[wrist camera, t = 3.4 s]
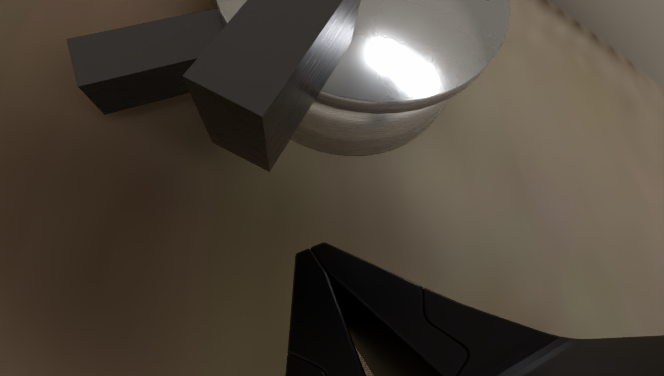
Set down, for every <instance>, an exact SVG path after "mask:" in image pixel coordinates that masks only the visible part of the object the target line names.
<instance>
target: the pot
mask: <svg viewBox="0 0 664 376" xmlns="http://www.w3.org/2000/svg"><path fill="white" fill-rule="evenodd" d="M224 27H225V26H224V24H223V21H222V19H221V16H220V13H219V11H218V8H216V9H211V10H206V11H201V12H197V13H192V14H187V15H182V16H177V17H172V18H167V19H163V20H158V21H153V22H148V23H143V24H138V25H134V26H129V27H124V28H119V29H114V30H109V31H104V32H100V33H95V34H90V35H85V36H80V37H75V38H70V39H67V43H68V47H69V51H70V55H71V59H72V64H73V68H74V72H75V76H76V80H77V84H78V87H79V88H80V89H81V90H82V91H83V92H84V93H85V94H86V95H87V96H88V98H89V99H90V100H91V101H92V102H93V103H94V104H95V105H96V106H97V107H98V108H99V109H100V110H101V111H102V112H103V113H104V114H105V115H106V114H110V113H113V112H117V111H121V110H125V109H129V108H132V107H136V106H140V105H144V104H148V103H151V102H155V101H159V100H163V99H167V98H171V97H174V96H178V95H182V94H186V93H190V91H189V89H188V87H187V85H186V83H185V80H184V78H183V75H184V73H185V72H186V71H187V70H188V69H189V68H190V66H191V65H192V64H193V63H194V62H195V61H196V59H197V58H198V57H199V56H200V55H201V54H202V52H203V51H204V50H205V49H206V48H207V47H208V45H209V44H210V43H211V42H212V41H213V40H214V38H215V37H216V36H217V35H218V34H219V33H220V31H221V30H222V29H223V28H224ZM449 100H450V98H449V99H447V100H444V101H442V102H440V103H438V104H436V105H432V106H429V107H426V108H423V109H419V110H414V111H408V112H402V113H388V114H372V113H359V112H352V111H347V110H342V109H337V108H333V107H330V106H326V105H323V104H320V103H317V102H313V104H312V105H311V107H310V109H309V110H308V112H307V113H306V115H305V117H304V118H303V120H302V121H301V123H300V124H299V126H298V128H297V129H296V131H295V132H294V134H293V136H292V137H291V139H292V140H294V141H296V142H298V143H300V144H302V145H304V146H306V147H309V148H312V149H315V150H318V151H321V152H326V153H330V154H336V155H346V156H365V155H372V154H379V153H383V152H386V151H390V150H393V149H395V148H398V147H400V146H402V145H404V144H406V143H408V142H409V141H411V140H413V139H414V138H416V137H417V136H418V135H419V134H421V133H422V132H423V131H424V130H425V129H426V128H427V127H428V126H429V125H430V124H431V122H432V121H433V120H434V119H435V118H436V116H437V115H438V114H439V112H440V111H441V110H442V109H443V107H444V106H445V105H446V104H447V102H448V101H449Z"/></svg>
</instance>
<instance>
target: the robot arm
mask: <svg viewBox="0 0 664 376" xmlns="http://www.w3.org/2000/svg"><path fill="white" fill-rule="evenodd" d="M354 345H355V346H354ZM355 347H356V348H357V350H358V351H359V353H360V354H361V356H362V358H363V359H364V361H365V362H366V364H367V365H368V367H369V369H370V370H371V372H372V373H373V375H374V376H664V336H644V337H622V338H601V339H572V338H566V337H560V336H556V335H551V334H548V333H545V332H541V331H538V330H535V329H532V328H530V327H527V326H524V325H521V324H518V323H515V322H512V321H509V320H506V319H503V318H500V317H497V316H495V315H492V314H489V313H486V312H483V311H480V310H477V309H475V308H472V307H469V306H467V305H464V304H461V303H458V302H456V301H454V300H451V299H449V298H447V297H444V296H442V295H440V294H437V293H435V292H433V291H431V290H428V289H426V288H424V289H423V287H422V286H419V285H417V284H415V283H413V282H411V281H408V280H406V279H404V278H402V277H400V276H398V275H395V274H393V273H391V272H389V271H387V270H384V269H382V268H380V267H378V266H376V265H373V264H371V263H369V262H367V261H365V260H363V259H360V258H358V257H356V256H354V255H352V254H349V253H347V252H345V251H343V250H341V249H338V248H336V247H334V246H332V245H330V244H327V243H325V242H323V243H320V244H318V245H315V246H313V247H312V248H311V250H310V249H306V250H303V251H301V252H298V253H297V254H296V256H295V268H294V280H293V293H292V305H291V318H290V330H289V342H288V356H287V365H286V375H285V376H366V375H365V372H364V369H363V367H362V364H361V362H360V359H359V356H358V354H357V351H356V348H355Z"/></svg>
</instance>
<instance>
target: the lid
mask: <svg viewBox="0 0 664 376" xmlns="http://www.w3.org/2000/svg"><path fill="white" fill-rule="evenodd" d="M216 3H217V7H218V11H219V13H220V16H221V19H222V21H223V24H224V26H225V27H224V28H223V29H222V30H221V31H220V33H219V34H218V35H217V36H216V37H215V38H214V40H213V41H212V42H211V43H210V44H209V45H208V47H207V48H206V49H205V50H204V51H203V52H202V54H201V55H200V56H199V57H198V58H197V59H196V61H195V62H194V63H193V64H192V65H191V66H190V68H189V69H188V70H187V71H186V72H185V73H184V75H183V78H184V80H185V83H186V85H187V87H188V89H189V91H190V94H191V96H192V98H193V100H194V102H195V105H196V107H197V109H198V111H199V114H200V116H201V118H202V120H203V122H204V125H205V127H206V129H207V131H208V133H209V136H210V138H211V140H212V142H213V143H215V144H217V145H219V146H221V147H222V148H224V149H226V150H228V151H230V152H232V153H234V154H236V155H238V156H240V157H242V158H244V159H246V160H248V161H249V162H251V163H253V164H255V165H257V166H259V167H261V168H263V169H265V170H267V171H269V172H270V170H271V169H272V167H273V166H274V164H275V162H276V161H277V159H278V158H279V156H280V155H281V153H282V151H283V150H284V148H285V147H286V145H287V143H288V142H289V140H290V139H291V137H292V136H293V134H294V132H295V131H296V129H297V128H298V126H299V124H300V123H301V121H302V120H303V118H304V117H305V115H306V113H307V112H308V110H309V109H310V107H311V105H312V104H313V102H317V103H320V104H323V105H326V106H330V107H333V108H337V109H342V110H347V111H352V112H359V113H372V114H388V113H402V112H408V111H414V110H419V109H423V108H426V107H429V106H432V105H436V104H438V103H440V102H442V101H444V100H447V99H449V98H451V97H453V96H454V95H456V94H457V93H459V92H460V91H462V90H463V89H465V88H466V87H467V86H468V85H469V84H471V83H472V82H473V81H474V80H475V79H476V78H477V77H478V76H479V75H480V73H481V72H482V71H483V70H484V69H485V67H486V66H487V65H488V64H489V62H490V61H491V60H492V58H493V57H494V56H495V55H496V53H497V52H498V50H499V48H500V46H501V44H502V42H503V40H504V38H505V35H506V32H507V28H508V25H509V16H510V2H509V0H216Z"/></svg>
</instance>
